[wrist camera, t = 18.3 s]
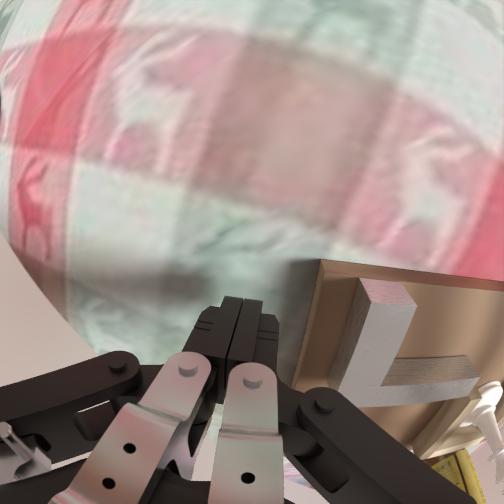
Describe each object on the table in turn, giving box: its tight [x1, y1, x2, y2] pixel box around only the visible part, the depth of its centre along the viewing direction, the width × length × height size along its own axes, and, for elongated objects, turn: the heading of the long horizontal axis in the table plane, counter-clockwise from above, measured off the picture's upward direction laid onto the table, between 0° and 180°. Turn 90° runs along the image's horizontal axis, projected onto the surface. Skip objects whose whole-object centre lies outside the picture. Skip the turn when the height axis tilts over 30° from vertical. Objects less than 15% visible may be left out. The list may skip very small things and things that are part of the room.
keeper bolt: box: [327, 278, 480, 407], centre depth 11 cm, size 9×6×2 cm, turn 85°
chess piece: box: [459, 381, 504, 495], centre depth 9 cm, size 5×5×10 cm
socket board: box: [283, 259, 504, 460], centre depth 13 cm, size 24×16×4 cm, turn 85°
